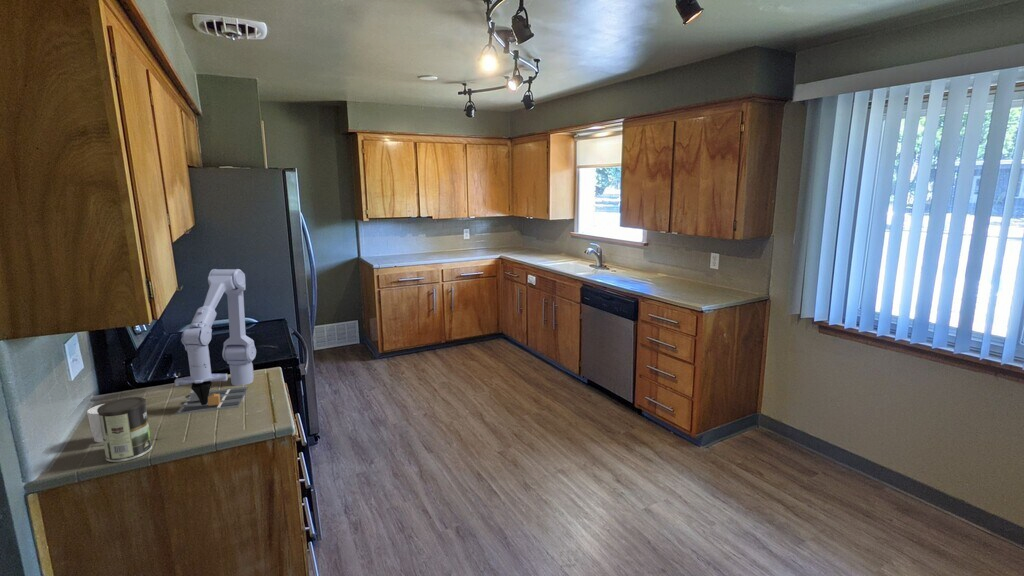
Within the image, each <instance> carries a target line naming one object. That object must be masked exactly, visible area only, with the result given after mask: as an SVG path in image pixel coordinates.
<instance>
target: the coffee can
mask: <svg viewBox="0 0 1024 576" xmlns="http://www.w3.org/2000/svg"><path fill="white" fill-rule="evenodd" d="M146 403H147V399H146V398H145V397H142V396H141V397H140V396H133V397H123V398H118V399H114V400H111V401H109V402H106V403H103V404H104V405H102V406H100V407H99V408H98V409H97V412H98V413H99V419H100V425H101V431H102V437H103V442H102V443H103V445H104V446H103V447H104V453H105V461H108V462H109V463H120V462H126V461H127V462H128V461H130V460H134V459H138V458H140V457H143V456H145V455H146V454H148V453H149V452H150V451H151V450H152V449H153V445H152V440H151V432H150V425H149V418H148V412H147V404H146Z"/></svg>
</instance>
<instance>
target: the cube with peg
mask: <svg viewBox="0 0 1024 576" xmlns="http://www.w3.org/2000/svg"><path fill="white" fill-rule="evenodd" d="M189 396H190V398H191V401H199V398H198V396H197V395H196V393H195V392H194V391H193V390H191V391H190V392H189Z"/></svg>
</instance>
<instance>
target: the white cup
mask: <svg viewBox="0 0 1024 576" xmlns="http://www.w3.org/2000/svg"><path fill="white" fill-rule="evenodd" d="M104 404H105V403H101V404H98V405H95V406H93V407H91V408H89V409H88V410H86V414H87V418H88V423H89V426H90V432H91V434H92V438H93V440H94V442H95V443H98V444H99V443H103V437H102V431H101V425H100V419H99V413H98V412H97V409H98V408H99V407H100V406H102V405H104Z"/></svg>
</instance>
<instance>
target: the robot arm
mask: <svg viewBox="0 0 1024 576" xmlns="http://www.w3.org/2000/svg"><path fill="white" fill-rule="evenodd" d="M207 283H208V286H209V287H208V291H207V293H206V296H205V299H204V303H203V306H200V307H198V308H197V309H196V312H195V314H194V316H193V318H192V321H191V323H190V326H189V327H187V328H186V329H184V330H183V331H182V334H181V338H180V341H181V343H182V345H184V350H185V351H186V352H187V357H188V358H187V359H188V366H189V367H188V368H189V373H190V376H184V377H180V378H175V380H174V386H175V387H180V386H184V385H191V391H194V392H195V393H196V395H197V396H198V398H199V400H200V402H201V405H206V404H207V403H208V394H209V391H211V387H212V385H213V382H215V383H216V382H228V379H229V378H228V377H229V376H228V373H212V367H211V357H210V350H209V344H210V342H211V340H212V333H213V332H212V331H213V329H212V326H213V324H214V321H215V320H216V317H217V314H218V313H217V311H216V308H217V306H218V304H219V302H220V300H221V299H222V297H223V295H224V293H225V294H226V296H227V297H226V298H227V312H228V326H229V327H228V328H229V329H228V333H229V337H228V338H227V339H225V341H224V342H223V348H222V351H221V352H222V353H221V354H222V359H223V360H224V361H225V362H226V364H227V365H229V372H230V383H231V385H232V386H239V387H240V386H245V385H249V384H251V383H253V382H254V377H255V375H254V364H253V361H254V360H255V359H256V355H257V349H256V346H255V340H253V338H251V337H249V336H248V335H246V333H247V331H246V321H245V320H246V319H245V318H246V317H245V315H246V314H245V300H244V299H245V298H244V291H246V286H247V285H246V273H244V272H243V271H242V270H241V269H239V268H236V269H235V268H234V269H233V268H231V269H229V268H226V269H217V268H212V269H211V270H210V272H209V273H208V276H207Z"/></svg>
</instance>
